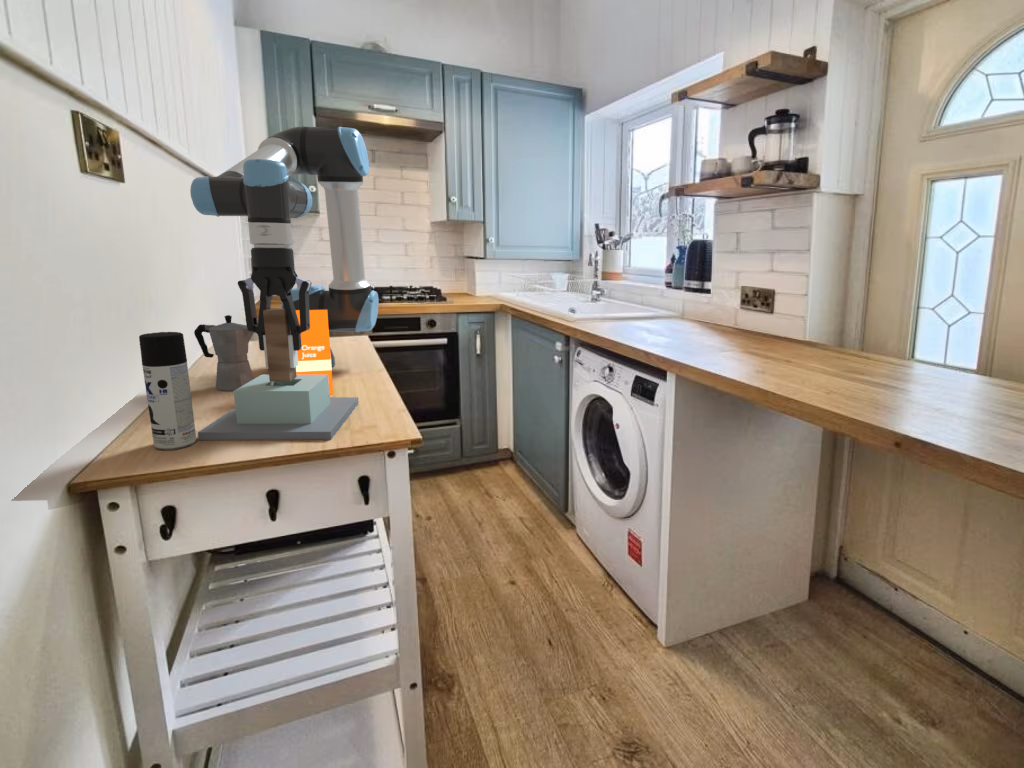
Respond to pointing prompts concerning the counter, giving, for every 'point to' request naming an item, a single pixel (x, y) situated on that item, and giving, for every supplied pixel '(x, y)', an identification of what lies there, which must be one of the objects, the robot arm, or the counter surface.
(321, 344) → the orange juice
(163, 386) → the spray can
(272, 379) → the peg
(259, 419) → the socket block
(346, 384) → the counter surface
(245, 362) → the coffeepot
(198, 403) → the counter surface
